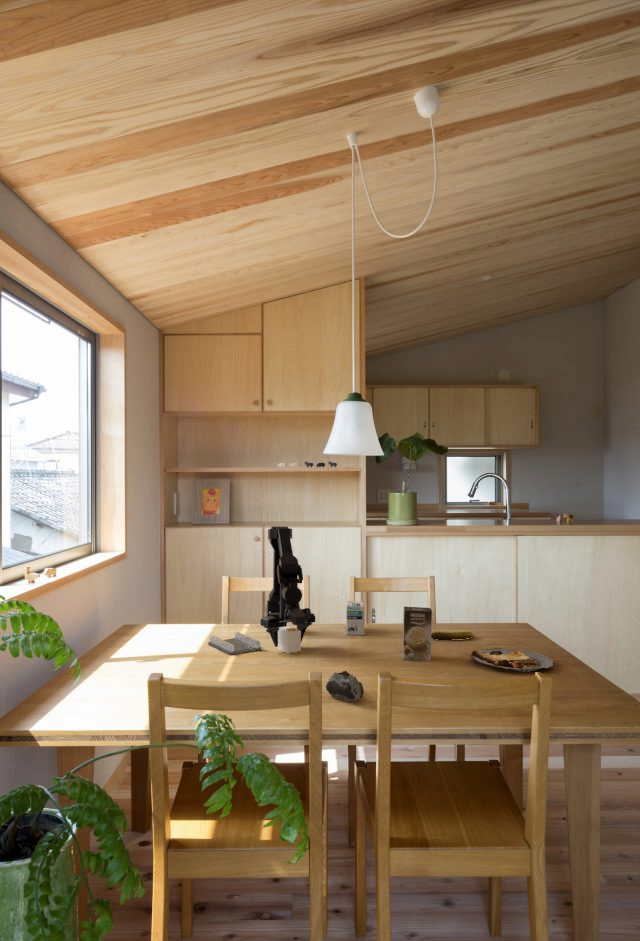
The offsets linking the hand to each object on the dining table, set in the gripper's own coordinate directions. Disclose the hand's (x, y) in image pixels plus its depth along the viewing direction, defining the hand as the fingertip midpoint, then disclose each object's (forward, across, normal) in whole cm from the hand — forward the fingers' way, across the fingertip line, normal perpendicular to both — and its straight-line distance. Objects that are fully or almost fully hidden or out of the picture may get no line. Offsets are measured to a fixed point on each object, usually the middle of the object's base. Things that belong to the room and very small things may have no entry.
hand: (288, 645), depth 237 cm
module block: (+2, 0, 0) cm, 2 cm away
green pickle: (+2, +60, -18) cm, 63 cm away
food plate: (+2, +51, -52) cm, 73 cm away
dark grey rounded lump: (+2, -12, -51) cm, 53 cm away
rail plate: (+2, -14, +12) cm, 18 cm away
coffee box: (+2, +30, -31) cm, 43 cm away
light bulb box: (+2, +35, +9) cm, 36 cm away
